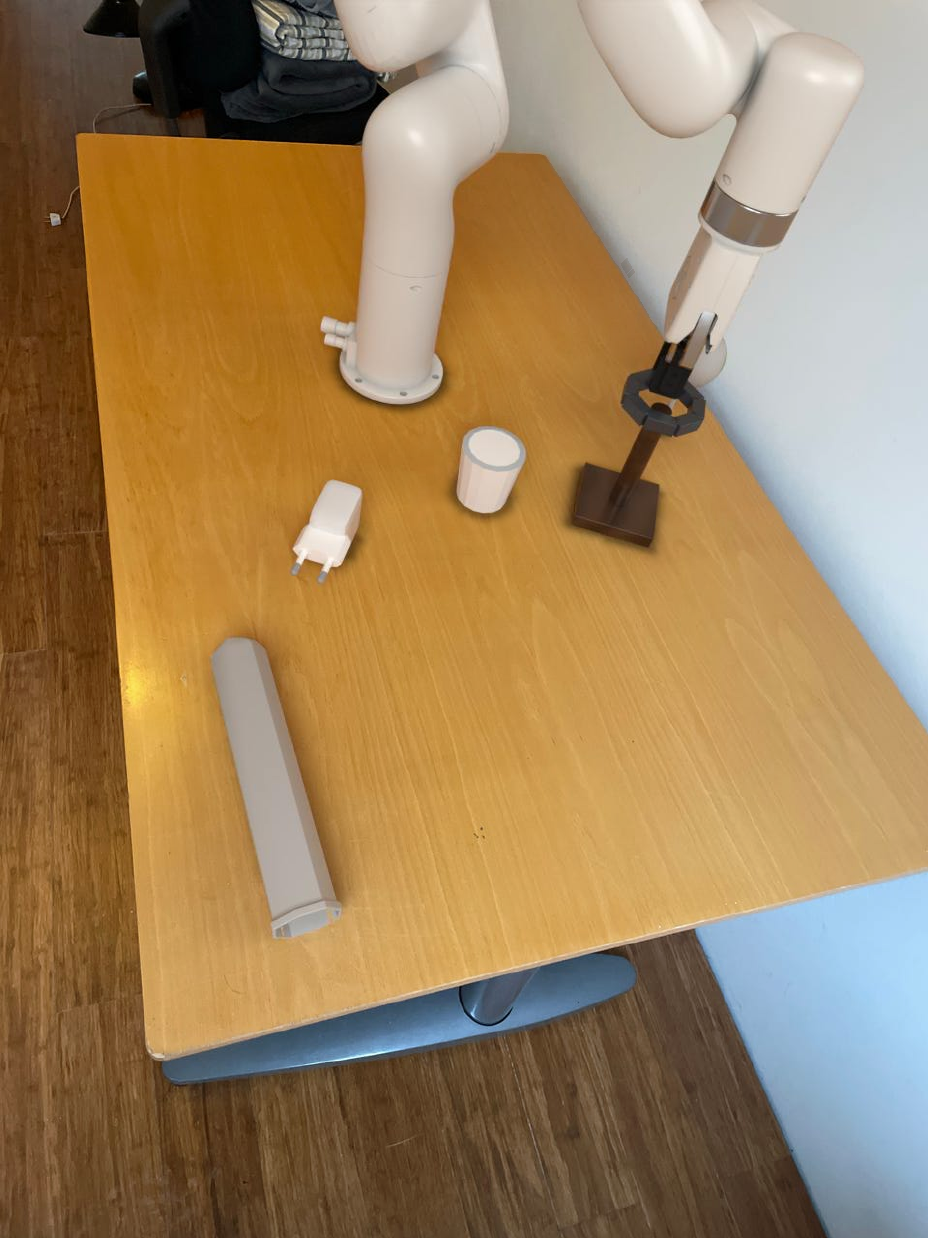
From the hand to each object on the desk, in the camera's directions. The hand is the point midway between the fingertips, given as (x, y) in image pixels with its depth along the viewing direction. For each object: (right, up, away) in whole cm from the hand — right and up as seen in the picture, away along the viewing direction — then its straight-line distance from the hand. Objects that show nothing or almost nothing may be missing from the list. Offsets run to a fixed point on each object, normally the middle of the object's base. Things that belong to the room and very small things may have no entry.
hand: (664, 385), depth 83 cm
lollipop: (+4, 0, +20) cm, 20 cm away
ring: (-1, -3, -2) cm, 3 cm away
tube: (-37, -37, -17) cm, 55 cm away
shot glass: (-19, -10, +7) cm, 22 cm away
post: (-3, -11, +10) cm, 15 cm away
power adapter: (-34, -18, -2) cm, 39 cm away
